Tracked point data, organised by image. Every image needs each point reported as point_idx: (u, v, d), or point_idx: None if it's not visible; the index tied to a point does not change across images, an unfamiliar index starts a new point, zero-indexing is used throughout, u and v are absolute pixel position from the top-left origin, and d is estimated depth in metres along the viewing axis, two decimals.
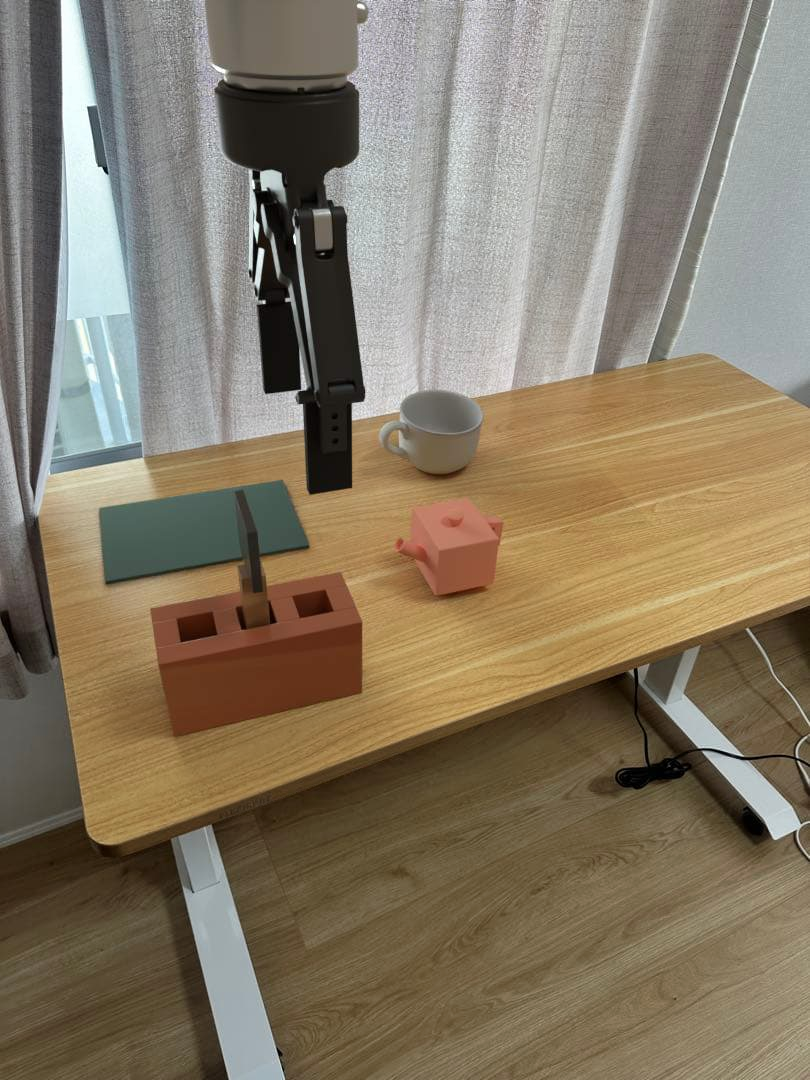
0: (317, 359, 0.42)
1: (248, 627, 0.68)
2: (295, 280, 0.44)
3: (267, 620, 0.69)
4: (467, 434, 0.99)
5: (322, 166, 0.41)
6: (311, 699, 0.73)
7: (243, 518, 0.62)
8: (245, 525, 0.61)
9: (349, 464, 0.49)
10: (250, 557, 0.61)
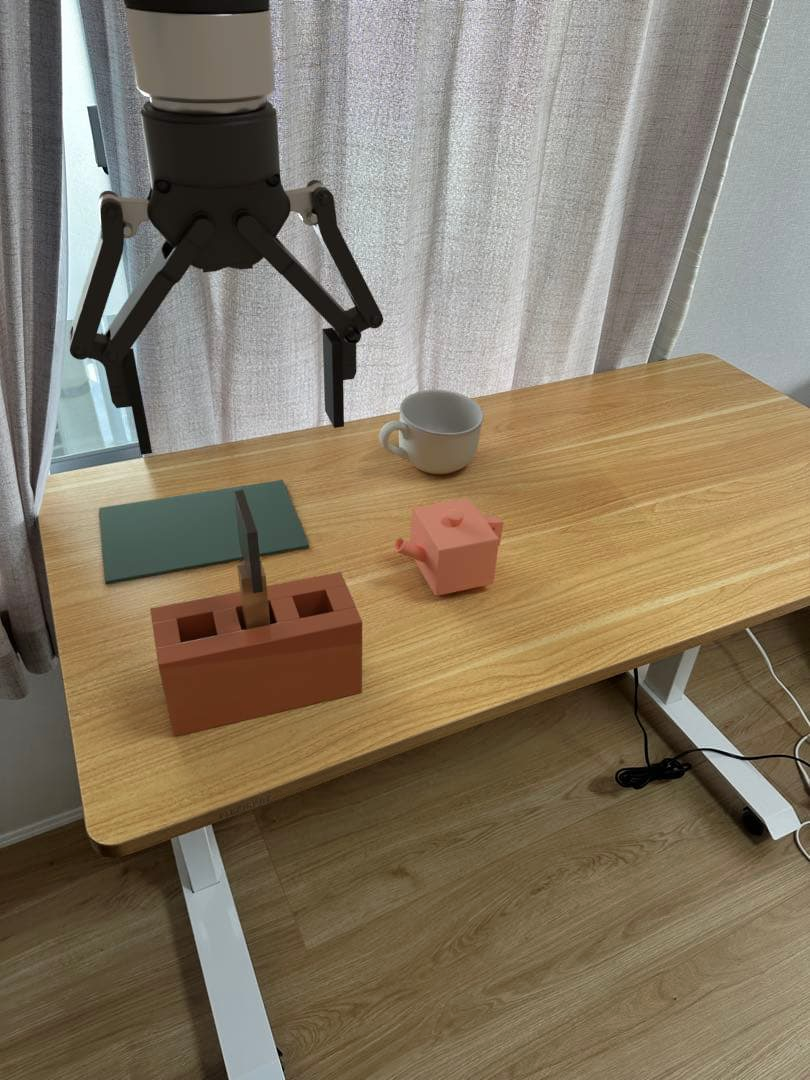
0: (370, 292, 0.54)
1: (248, 627, 0.68)
2: (295, 261, 0.51)
3: (267, 620, 0.69)
4: (467, 434, 0.99)
5: None
6: (311, 699, 0.73)
7: (243, 518, 0.62)
8: (245, 525, 0.61)
9: None
10: (250, 557, 0.61)
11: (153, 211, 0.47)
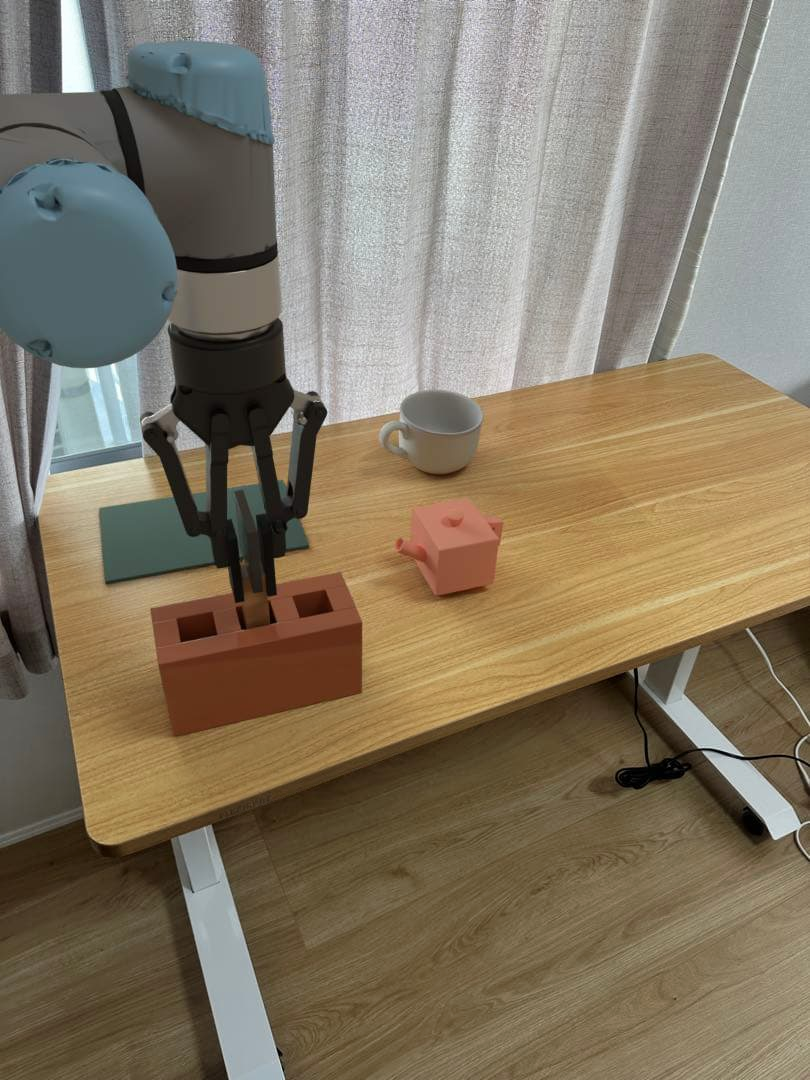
0: (309, 491, 0.62)
1: (248, 627, 0.68)
2: None
3: (267, 620, 0.69)
4: (467, 434, 0.99)
5: None
6: (311, 699, 0.73)
7: (243, 518, 0.62)
8: (245, 525, 0.61)
9: None
10: (250, 557, 0.61)
11: (177, 408, 0.55)
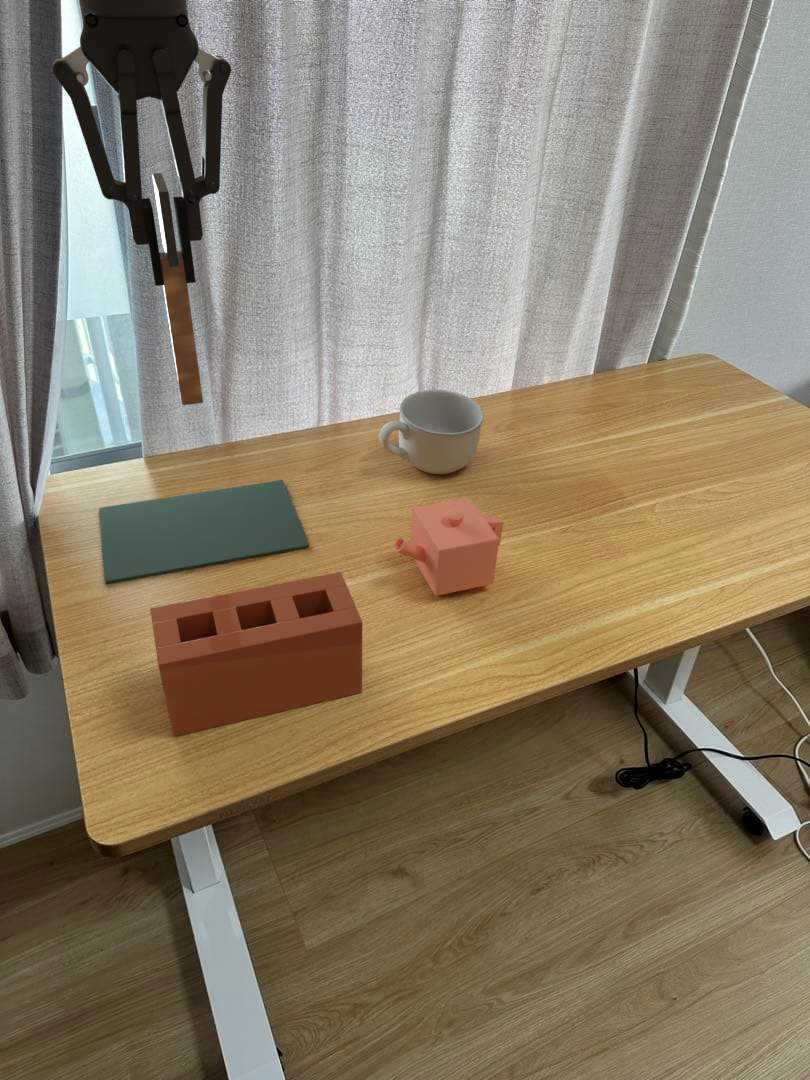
0: None
1: (170, 319, 0.72)
2: (180, 113, 0.63)
3: (188, 313, 0.73)
4: (467, 434, 0.99)
5: None
6: (311, 699, 0.73)
7: (157, 185, 0.66)
8: (158, 188, 0.65)
9: None
10: (163, 222, 0.65)
11: (84, 43, 0.59)
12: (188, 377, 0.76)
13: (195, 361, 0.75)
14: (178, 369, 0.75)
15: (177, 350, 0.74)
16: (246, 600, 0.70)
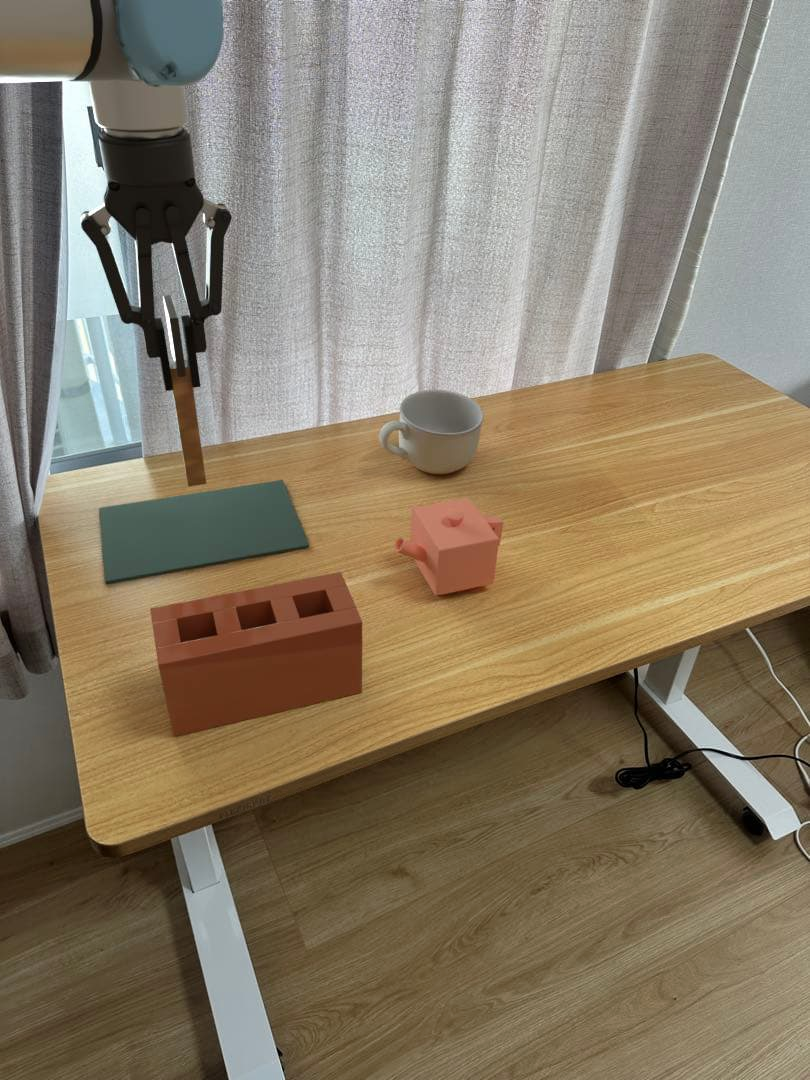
0: (221, 290, 0.77)
1: (178, 417, 0.83)
2: (188, 253, 0.74)
3: (194, 411, 0.83)
4: (467, 434, 0.99)
5: None
6: (311, 699, 0.73)
7: (168, 310, 0.76)
8: (169, 314, 0.76)
9: None
10: (173, 341, 0.76)
11: (108, 203, 0.69)
12: (193, 463, 0.87)
13: (200, 450, 0.86)
14: (185, 457, 0.86)
15: (184, 441, 0.85)
16: (246, 600, 0.70)
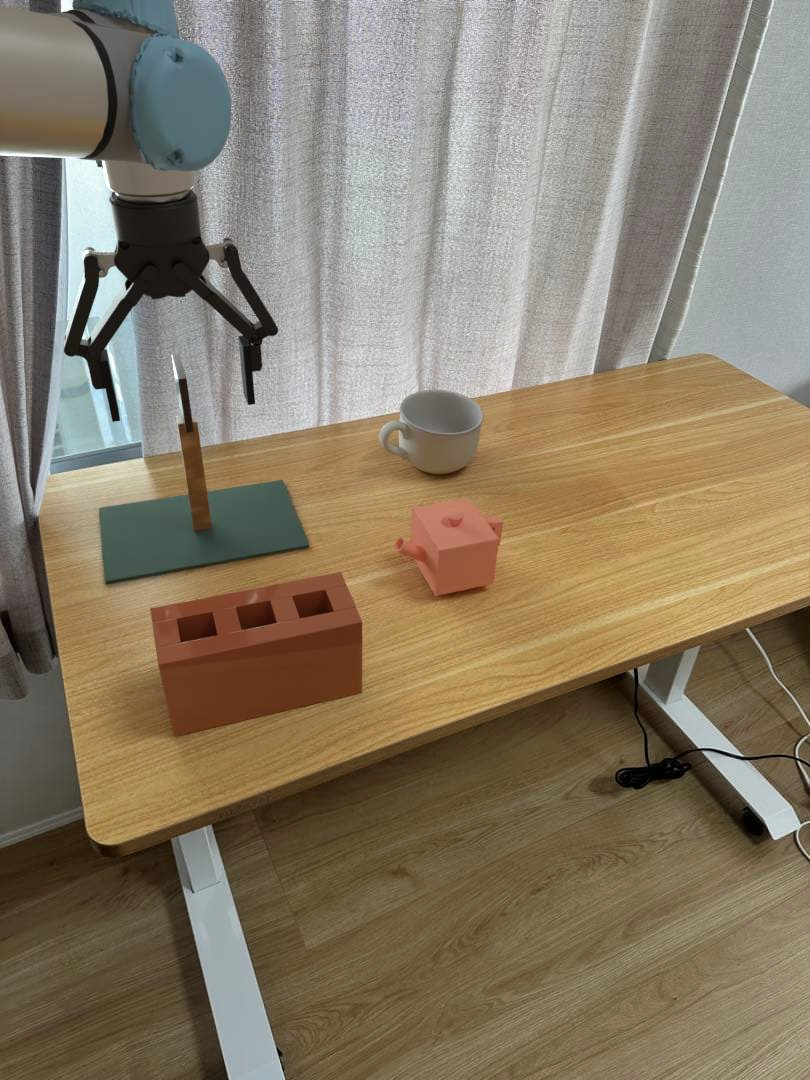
0: (267, 311, 0.80)
1: (185, 467, 0.87)
2: (214, 291, 0.77)
3: (201, 462, 0.87)
4: (467, 434, 0.99)
5: None
6: (311, 699, 0.73)
7: (176, 370, 0.80)
8: (177, 374, 0.79)
9: None
10: (182, 400, 0.80)
11: (118, 261, 0.72)
12: (200, 510, 0.91)
13: (206, 498, 0.90)
14: (191, 504, 0.90)
15: (191, 490, 0.89)
16: (246, 600, 0.70)
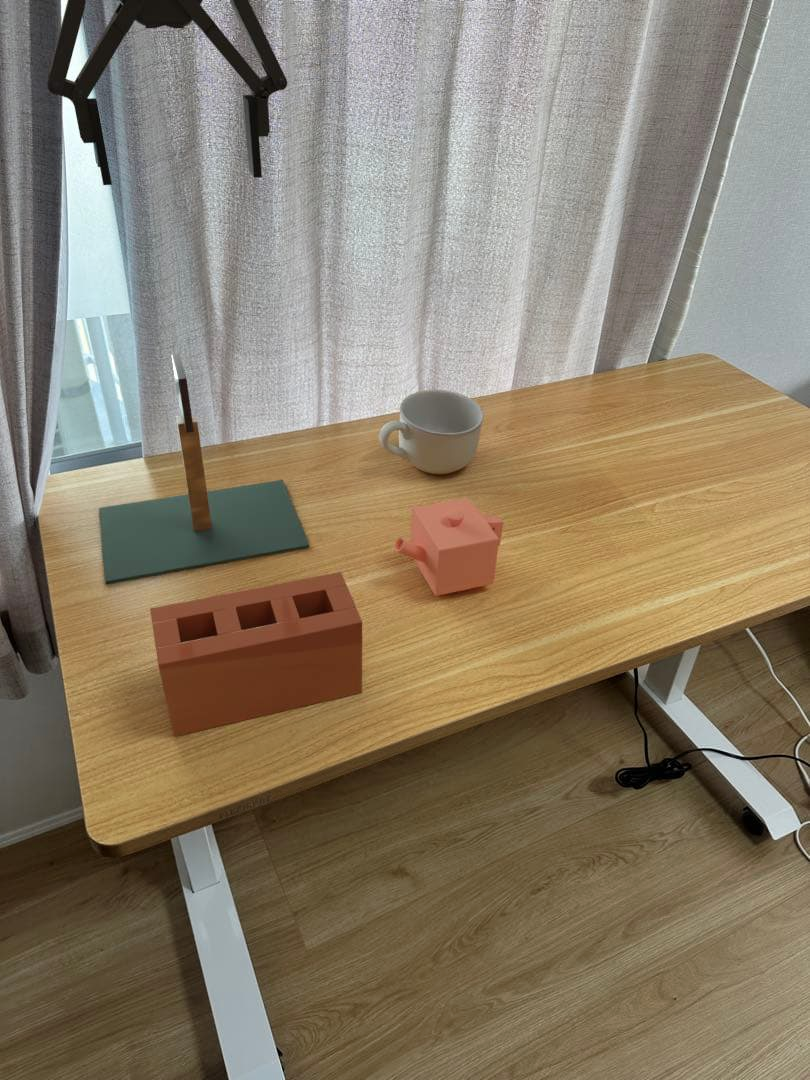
0: (275, 57, 0.71)
1: (185, 467, 0.87)
2: None
3: (201, 462, 0.87)
4: (467, 434, 0.99)
5: None
6: (311, 699, 0.73)
7: (176, 370, 0.80)
8: (177, 374, 0.79)
9: None
10: (182, 400, 0.80)
11: None
12: (200, 510, 0.91)
13: (206, 498, 0.90)
14: (191, 504, 0.90)
15: (191, 490, 0.89)
16: (246, 600, 0.70)
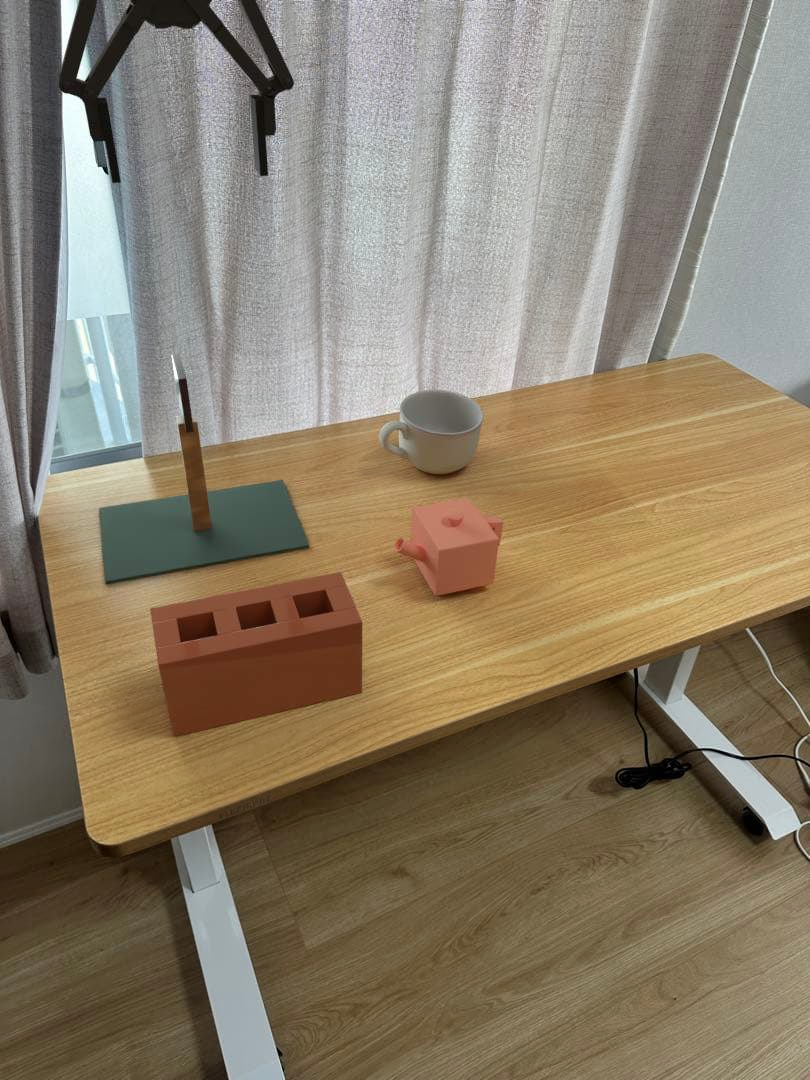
0: (282, 58, 0.72)
1: (185, 467, 0.87)
2: (224, 26, 0.70)
3: (201, 462, 0.87)
4: (467, 434, 0.99)
5: None
6: (311, 699, 0.73)
7: (176, 370, 0.80)
8: (177, 374, 0.79)
9: None
10: (182, 400, 0.80)
11: None
12: (200, 510, 0.91)
13: (206, 498, 0.90)
14: (191, 504, 0.90)
15: (191, 490, 0.89)
16: (246, 600, 0.70)
